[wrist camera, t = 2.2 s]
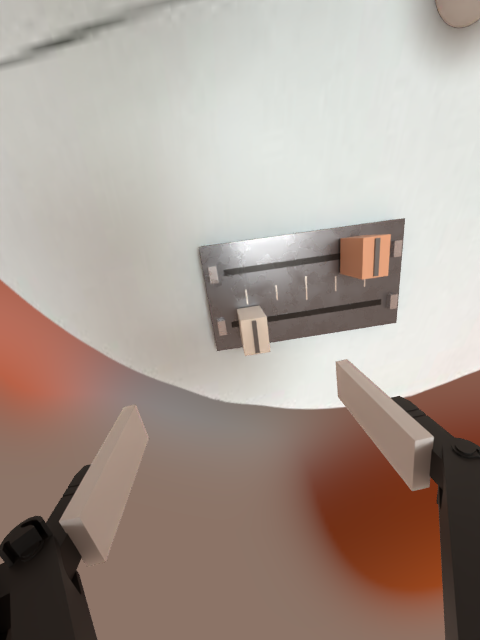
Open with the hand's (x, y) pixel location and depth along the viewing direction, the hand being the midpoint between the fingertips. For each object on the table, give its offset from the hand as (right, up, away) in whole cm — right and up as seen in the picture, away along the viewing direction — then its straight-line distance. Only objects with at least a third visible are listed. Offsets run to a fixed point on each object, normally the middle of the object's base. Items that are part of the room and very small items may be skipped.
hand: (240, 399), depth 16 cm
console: (+8, +10, +18) cm, 22 cm away
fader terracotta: (+14, +14, +15) cm, 25 cm away
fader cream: (+1, +5, +17) cm, 17 cm away
